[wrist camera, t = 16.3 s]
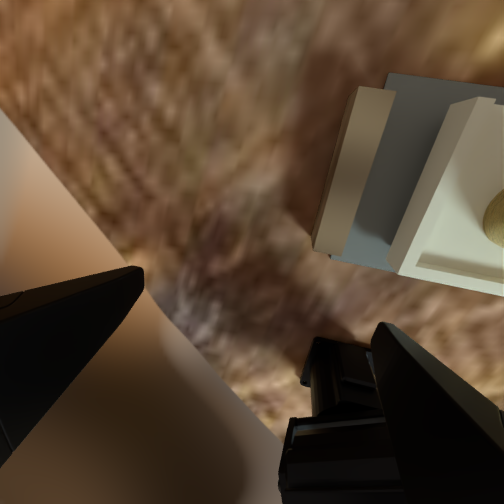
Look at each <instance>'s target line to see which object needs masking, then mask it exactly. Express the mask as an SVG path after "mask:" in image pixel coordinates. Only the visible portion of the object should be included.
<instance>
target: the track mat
mask: <svg viewBox="0 0 504 504" xmlns="http://www.w3.org/2000/svg"><path fill="white" fill-rule="evenodd" d="M384 89H385V90H392V91H397V92H396V95H395V98H394V101H393V104H392V107H391V110H390V113H389V116H388V119H387V122H386V125H385V128H384V131H383V134H382V137H381V140H380V143H379V146H378V149H377V152H376V155H375V158H374V161H373V164H372V167H371V170H370V173H369V176H368V178H367V181H366V184H365V187H364V190H363V193H362V196H361V199H360V202H359V205H358V208H357V211H356V214H355V217H354V220H353V223H352V226H351V229H350V232H349V235H348V238H347V241H346V244H345V247H344V250H343V253H342V256H341V257H340V256H335V255H331V257H330V259H333V260H338V261H343V262H347V263H352V264H357V265H362V266H367V267H372V268H377V269H381V270H386V271H391V272H395V271H394V269H393V268H392V267H391V266H390V264H389V263H388V262H387V261H386V257H387V254H388V252H389V249H390V247H391V245H392V242H393V240H394V238H395V235H396V233H397V230H398V228H399V226H400V223H401V221H402V219H403V216H404V214H405V212H406V209H407V207H408V204H409V202H410V200H411V197H412V195H413V193H414V190H415V188H416V185H417V183H418V181H419V178H420V176H421V174H422V171H423V169H424V166H425V164H426V162H427V159H428V157H429V155H430V152H431V150H432V147H433V145H434V143H435V140H436V138H437V136H438V133H439V131H440V128H441V126H442V124H443V121H444V119H445V117H446V114H447V112H448V109H449V107H450V105H451V104H454V103H458V102H461V101H465V100H468V99H472V98H475V97H486V98H494V99H496V101H495V103H494V104H497V105H504V87H496V86H488V85H481V84H473V83H466V82H458V81H450V80H443V79H435V78H428V77H420V76H412V75H405V74H397V73H390V72H389V73H388V76H387V80H386V83H385V86H384Z"/></svg>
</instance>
